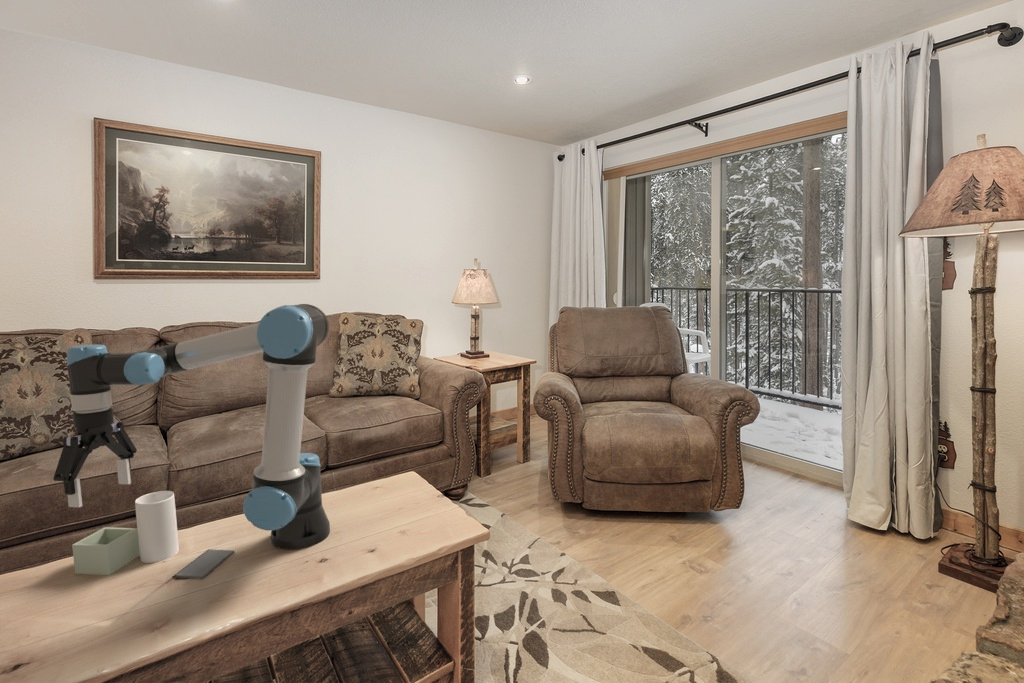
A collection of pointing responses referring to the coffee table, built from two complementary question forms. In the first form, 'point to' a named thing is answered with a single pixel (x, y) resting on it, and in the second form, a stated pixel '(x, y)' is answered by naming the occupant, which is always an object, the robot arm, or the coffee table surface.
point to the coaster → (204, 564)
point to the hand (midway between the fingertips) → (101, 494)
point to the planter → (106, 551)
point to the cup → (157, 526)
